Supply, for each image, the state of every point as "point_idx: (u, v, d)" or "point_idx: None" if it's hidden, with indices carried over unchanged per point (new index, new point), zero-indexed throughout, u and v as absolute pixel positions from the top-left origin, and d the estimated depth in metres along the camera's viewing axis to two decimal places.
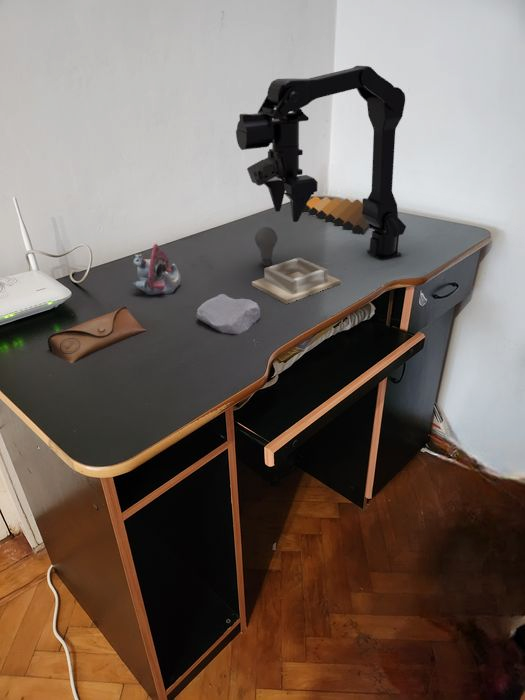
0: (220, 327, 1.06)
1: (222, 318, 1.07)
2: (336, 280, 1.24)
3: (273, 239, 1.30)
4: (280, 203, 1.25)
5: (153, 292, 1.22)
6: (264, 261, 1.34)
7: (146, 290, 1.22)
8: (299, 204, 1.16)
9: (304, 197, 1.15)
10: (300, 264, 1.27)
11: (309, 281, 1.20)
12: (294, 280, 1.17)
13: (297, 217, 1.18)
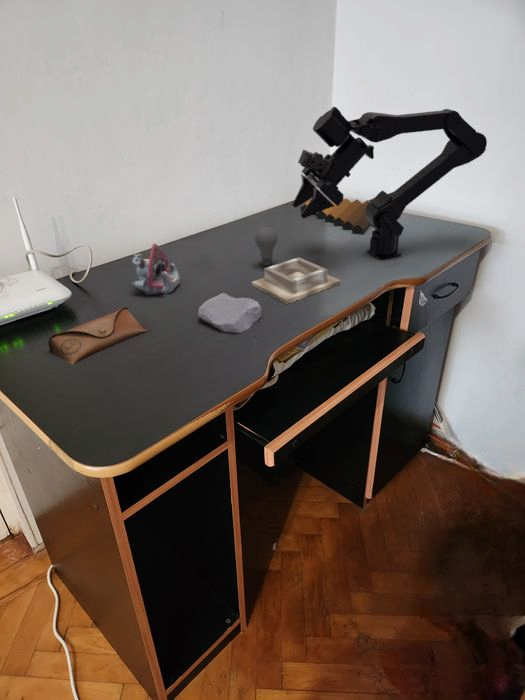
0: (222, 326, 1.06)
1: (223, 317, 1.07)
2: (336, 280, 1.24)
3: (273, 239, 1.30)
4: (300, 202, 1.33)
5: (152, 292, 1.23)
6: (264, 261, 1.34)
7: (145, 290, 1.22)
8: (316, 206, 1.24)
9: (324, 204, 1.23)
10: (300, 264, 1.27)
11: (309, 281, 1.20)
12: (294, 280, 1.17)
13: (306, 214, 1.25)
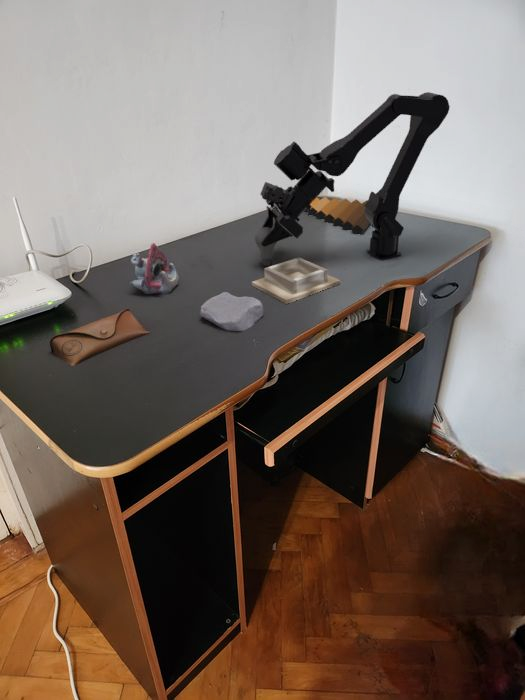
0: (224, 324, 1.07)
1: (226, 315, 1.07)
2: (336, 280, 1.24)
3: None
4: None
5: (150, 291, 1.23)
6: (264, 261, 1.34)
7: (143, 289, 1.22)
8: (276, 235, 1.27)
9: (283, 233, 1.27)
10: (300, 264, 1.27)
11: (309, 281, 1.20)
12: (294, 280, 1.17)
13: (266, 243, 1.29)
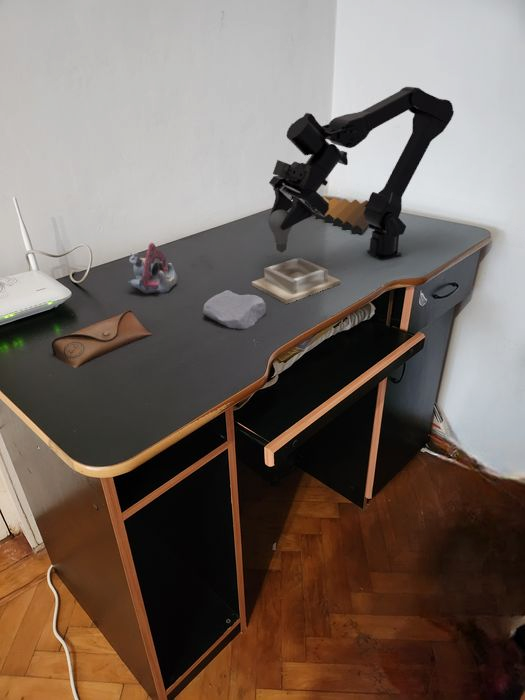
0: (227, 322, 1.07)
1: (229, 313, 1.08)
2: (336, 280, 1.24)
3: None
4: None
5: (148, 291, 1.23)
6: (280, 247, 1.23)
7: (141, 288, 1.23)
8: (296, 216, 1.18)
9: (304, 213, 1.18)
10: (300, 264, 1.27)
11: (309, 281, 1.20)
12: (294, 280, 1.17)
13: (286, 226, 1.19)
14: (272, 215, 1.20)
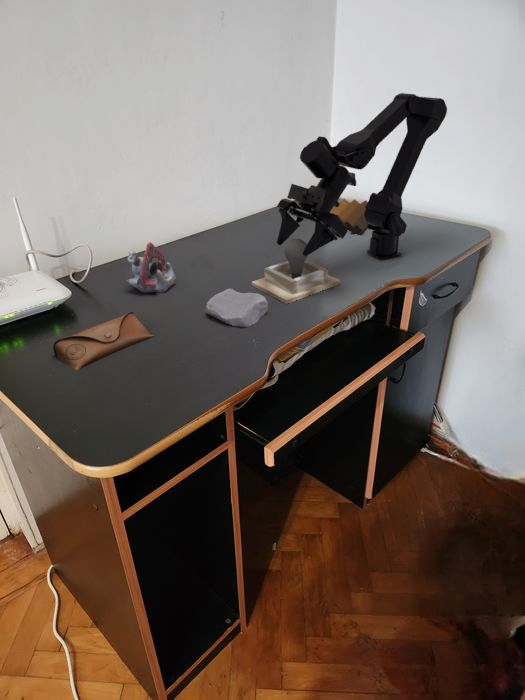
0: (230, 320, 1.08)
1: (231, 311, 1.09)
2: (336, 280, 1.24)
3: None
4: (284, 239, 1.23)
5: (146, 290, 1.24)
6: (296, 276, 1.23)
7: (139, 288, 1.23)
8: (318, 241, 1.16)
9: (326, 238, 1.16)
10: None
11: (309, 281, 1.20)
12: (294, 280, 1.17)
13: (308, 252, 1.16)
14: (289, 245, 1.19)
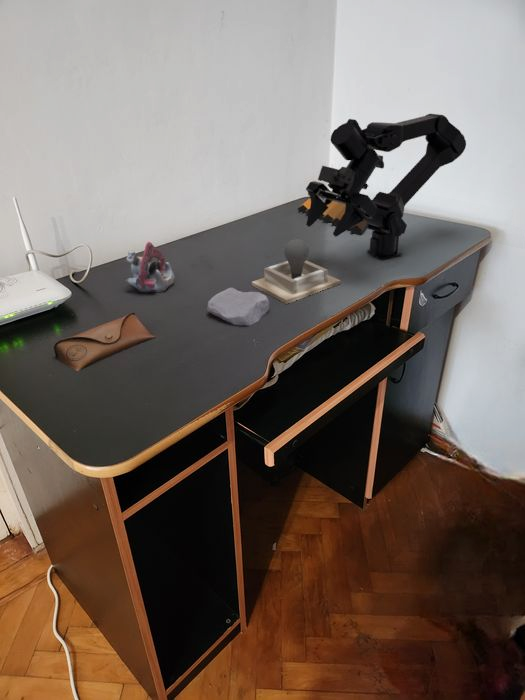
0: (232, 319, 1.09)
1: (233, 310, 1.09)
2: (336, 280, 1.24)
3: (308, 251, 1.19)
4: (313, 221, 1.26)
5: (144, 289, 1.24)
6: (296, 276, 1.23)
7: (138, 287, 1.24)
8: (348, 222, 1.19)
9: (356, 219, 1.19)
10: None
11: (309, 281, 1.20)
12: (294, 280, 1.17)
13: (338, 232, 1.19)
14: (289, 245, 1.19)
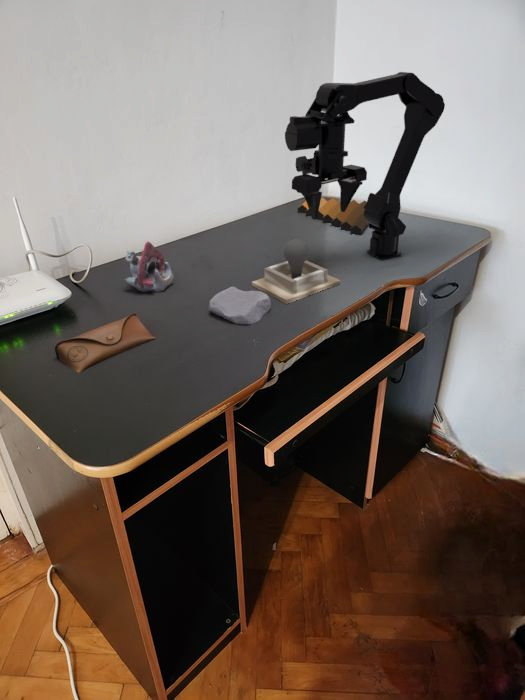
0: (233, 318, 1.09)
1: (235, 309, 1.10)
2: (336, 280, 1.24)
3: (307, 251, 1.19)
4: (344, 205, 1.27)
5: (143, 289, 1.24)
6: (296, 276, 1.23)
7: (136, 286, 1.24)
8: (311, 203, 1.21)
9: (313, 197, 1.20)
10: None
11: (309, 281, 1.20)
12: (294, 280, 1.17)
13: (313, 215, 1.23)
14: (289, 245, 1.19)
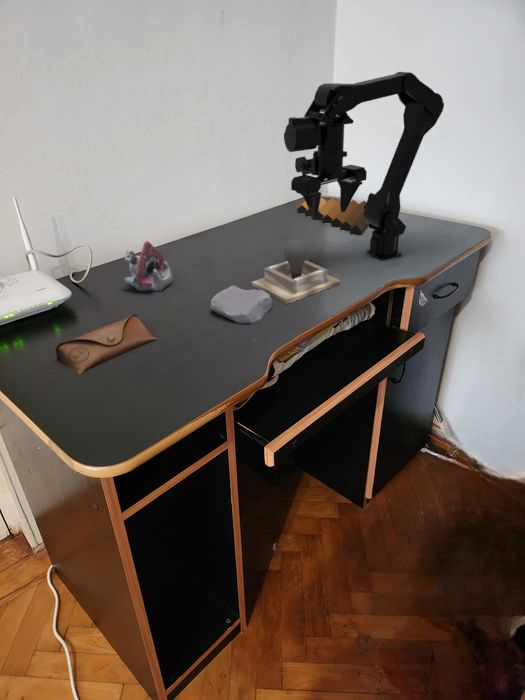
0: (235, 317, 1.09)
1: (236, 308, 1.10)
2: (336, 280, 1.24)
3: (307, 251, 1.20)
4: (344, 205, 1.28)
5: (142, 288, 1.24)
6: (296, 276, 1.23)
7: (135, 286, 1.24)
8: (311, 203, 1.22)
9: (312, 198, 1.20)
10: None
11: (309, 281, 1.20)
12: (294, 280, 1.17)
13: (313, 215, 1.24)
14: (289, 245, 1.19)
